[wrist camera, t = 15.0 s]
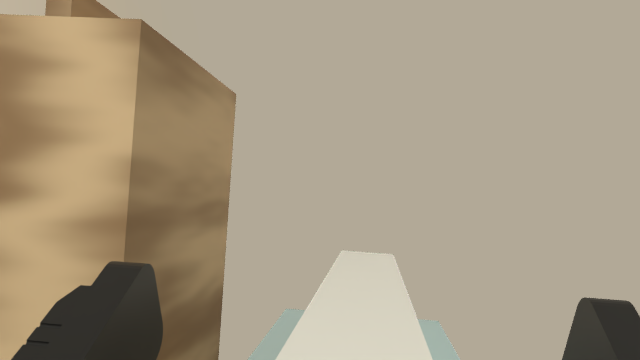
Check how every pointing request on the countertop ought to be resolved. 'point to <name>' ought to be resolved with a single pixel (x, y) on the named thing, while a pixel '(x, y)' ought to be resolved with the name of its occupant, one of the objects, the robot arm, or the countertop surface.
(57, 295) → the tall wood-grain block
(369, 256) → the bar
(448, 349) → the post
